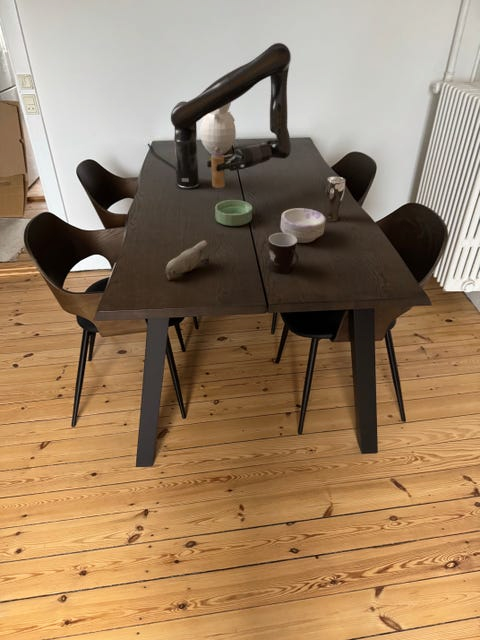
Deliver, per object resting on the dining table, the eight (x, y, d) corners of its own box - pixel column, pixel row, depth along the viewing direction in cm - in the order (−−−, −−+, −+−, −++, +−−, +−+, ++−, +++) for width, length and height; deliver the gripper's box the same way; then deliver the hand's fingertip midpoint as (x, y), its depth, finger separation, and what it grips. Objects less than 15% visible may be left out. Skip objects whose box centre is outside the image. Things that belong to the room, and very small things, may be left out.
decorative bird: (162, 277, 130) (159, 255, 126) (201, 258, 140) (199, 237, 135) (173, 284, 127) (171, 262, 123) (212, 264, 137) (211, 243, 132)
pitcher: (235, 157, 220) (235, 104, 205) (199, 157, 220) (196, 104, 205) (236, 147, 235) (236, 96, 219) (202, 146, 235) (200, 96, 220)
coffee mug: (265, 261, 138) (266, 233, 132) (291, 260, 139) (294, 232, 133) (270, 281, 129) (272, 251, 123) (298, 279, 130) (301, 250, 124)
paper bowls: (326, 231, 156) (329, 210, 151) (318, 250, 144) (321, 228, 139) (285, 224, 159) (287, 204, 154) (274, 243, 148) (276, 221, 143)
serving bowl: (208, 218, 163) (207, 205, 160) (236, 209, 170) (236, 197, 167) (230, 231, 155) (230, 218, 152) (259, 221, 162) (259, 208, 159)
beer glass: (339, 222, 161) (346, 183, 152) (320, 221, 162) (326, 182, 153) (340, 215, 166) (346, 176, 157) (321, 213, 167) (327, 175, 158)
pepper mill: (209, 185, 164) (208, 146, 155) (219, 182, 166) (218, 144, 157) (217, 188, 161) (216, 149, 152) (227, 185, 163) (226, 147, 154)
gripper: (235, 142, 168) (200, 151, 159) (260, 151, 159) (223, 161, 150) (236, 162, 172) (201, 171, 164) (259, 171, 164) (224, 182, 155)
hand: (212, 166), depth 157 cm, fingers closed on pepper mill, 5 cm apart
